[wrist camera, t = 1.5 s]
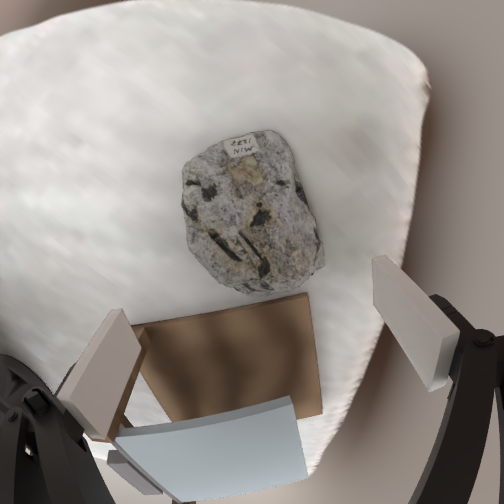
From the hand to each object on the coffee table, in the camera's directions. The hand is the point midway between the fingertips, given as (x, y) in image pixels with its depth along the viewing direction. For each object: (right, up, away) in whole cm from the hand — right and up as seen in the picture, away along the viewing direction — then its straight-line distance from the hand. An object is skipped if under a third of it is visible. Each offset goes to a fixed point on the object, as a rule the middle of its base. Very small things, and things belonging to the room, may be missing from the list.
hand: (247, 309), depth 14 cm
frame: (-3, -13, +21) cm, 25 cm away
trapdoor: (-4, -18, +10) cm, 21 cm away
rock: (0, +6, +14) cm, 15 cm away
